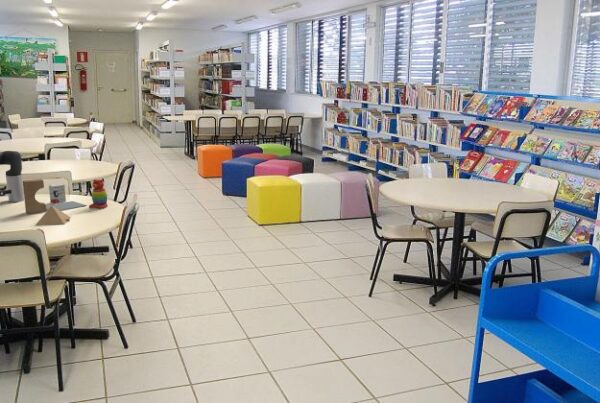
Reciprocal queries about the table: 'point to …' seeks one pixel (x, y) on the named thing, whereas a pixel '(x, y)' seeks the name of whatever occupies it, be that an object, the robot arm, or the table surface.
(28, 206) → the decorative block
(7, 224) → the table surface
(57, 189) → the ink box
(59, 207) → the mat
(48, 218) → the model pyramid
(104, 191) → the stacking bear
